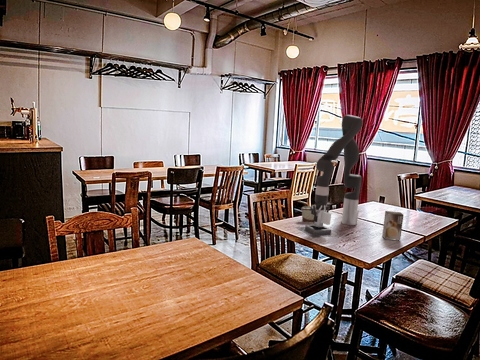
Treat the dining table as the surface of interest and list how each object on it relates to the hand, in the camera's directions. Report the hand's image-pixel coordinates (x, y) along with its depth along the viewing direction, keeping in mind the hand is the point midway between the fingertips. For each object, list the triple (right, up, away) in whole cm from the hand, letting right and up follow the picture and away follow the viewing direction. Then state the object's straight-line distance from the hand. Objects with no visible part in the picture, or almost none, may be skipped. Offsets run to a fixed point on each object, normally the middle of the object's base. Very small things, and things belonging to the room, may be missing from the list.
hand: (319, 221), depth 222 cm
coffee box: (+43, -11, 0) cm, 44 cm away
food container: (-1, -3, +24) cm, 25 cm away
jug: (+1, -3, -2) cm, 4 cm away
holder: (-1, -7, +1) cm, 7 cm away
